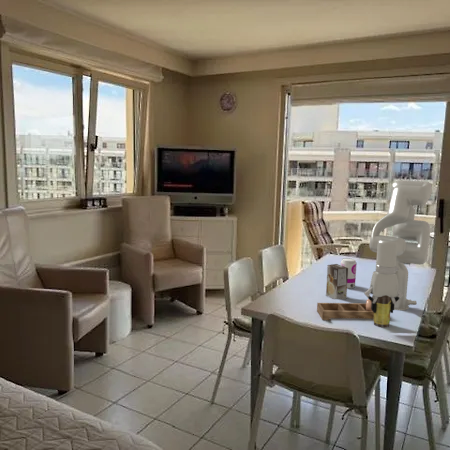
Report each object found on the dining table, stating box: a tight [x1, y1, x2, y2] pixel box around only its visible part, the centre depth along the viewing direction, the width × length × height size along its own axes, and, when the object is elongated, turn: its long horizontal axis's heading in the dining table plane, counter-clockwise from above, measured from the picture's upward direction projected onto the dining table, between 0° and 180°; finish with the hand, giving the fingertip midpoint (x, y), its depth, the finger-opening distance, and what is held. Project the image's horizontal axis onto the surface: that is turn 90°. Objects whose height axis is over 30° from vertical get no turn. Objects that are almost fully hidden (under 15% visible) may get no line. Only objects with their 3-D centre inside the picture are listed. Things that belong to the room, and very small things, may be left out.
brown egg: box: [365, 298, 372, 311], centre depth 191 cm, size 5×5×8 cm
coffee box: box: [325, 263, 348, 300], centre depth 216 cm, size 9×6×16 cm
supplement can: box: [340, 257, 358, 289], centre depth 235 cm, size 8×8×15 cm
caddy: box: [316, 302, 374, 321], centre depth 191 cm, size 28×11×4 cm, turn 90°
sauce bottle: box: [373, 295, 391, 328], centre depth 178 cm, size 6×6×20 cm
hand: (382, 311), depth 179 cm, fingers closed on sauce bottle, 6 cm apart
